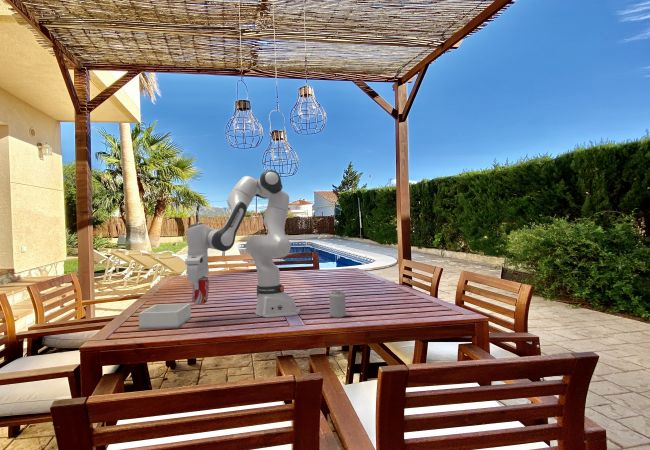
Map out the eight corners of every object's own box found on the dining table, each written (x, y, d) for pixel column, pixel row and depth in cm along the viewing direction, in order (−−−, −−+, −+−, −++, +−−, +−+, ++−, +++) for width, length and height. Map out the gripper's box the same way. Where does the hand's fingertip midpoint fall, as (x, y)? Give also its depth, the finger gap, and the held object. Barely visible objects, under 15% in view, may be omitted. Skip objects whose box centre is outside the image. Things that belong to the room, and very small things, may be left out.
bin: (191, 317, 183) (190, 303, 183) (177, 327, 166) (177, 312, 166) (155, 318, 182) (155, 304, 182) (139, 328, 165) (138, 313, 165)
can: (347, 314, 182) (346, 290, 182) (343, 318, 175) (342, 293, 175) (332, 313, 184) (332, 289, 184) (327, 317, 177) (327, 292, 177)
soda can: (202, 306, 172) (204, 280, 171) (188, 303, 173) (190, 278, 172) (210, 302, 179) (212, 277, 178) (196, 299, 180) (198, 275, 179)
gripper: (198, 255, 185) (199, 283, 186) (183, 261, 165) (185, 292, 165) (211, 254, 185) (212, 282, 186) (198, 260, 165) (200, 291, 165)
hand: (199, 287), depth 175 cm, fingers closed on soda can, 7 cm apart
